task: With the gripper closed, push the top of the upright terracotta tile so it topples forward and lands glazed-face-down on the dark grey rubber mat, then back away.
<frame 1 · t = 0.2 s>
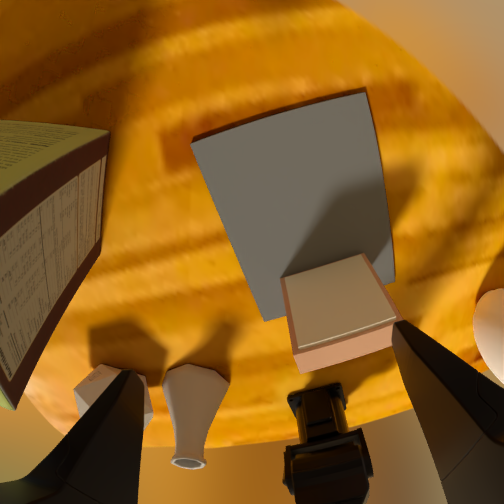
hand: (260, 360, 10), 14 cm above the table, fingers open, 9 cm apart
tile: (324, 275, 25), resting on mat
mat: (310, 219, 23), on the table
flask: (195, 381, 33), on the table
pale grey faceted chunk: (122, 376, 32), on the table
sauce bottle: (483, 298, 29), on the table
protein box: (27, 182, 20), on the table
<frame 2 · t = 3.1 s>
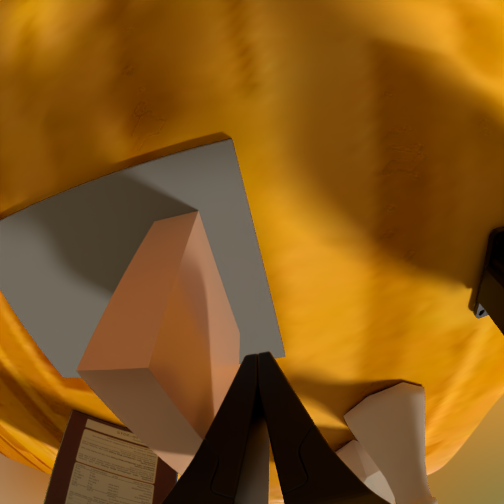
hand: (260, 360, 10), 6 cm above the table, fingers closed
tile: (200, 283, 15), resting on mat, touching gripper
mat: (113, 295, 15), on the table
flask: (384, 405, 22), on the table
pale grey faceted chunk: (348, 449, 26), on the table
protein box: (123, 452, 27), on the table
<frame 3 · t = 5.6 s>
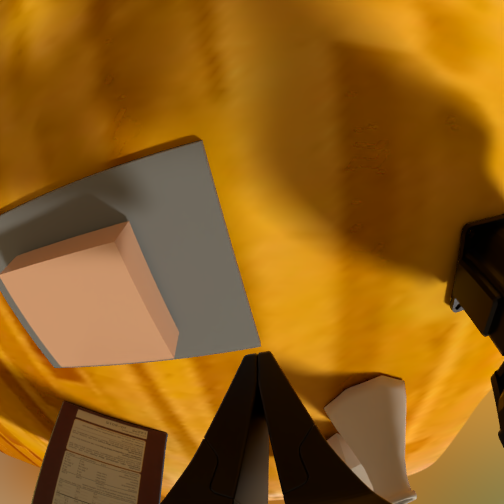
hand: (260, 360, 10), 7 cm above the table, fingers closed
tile: (151, 294, 15), point 2 cm above the table, tilted 90°, touching mat
mat: (98, 287, 16), on the table
flask: (365, 398, 23), on the table
pale grey faceted chunk: (333, 443, 27), on the table
protein box: (114, 444, 27), on the table
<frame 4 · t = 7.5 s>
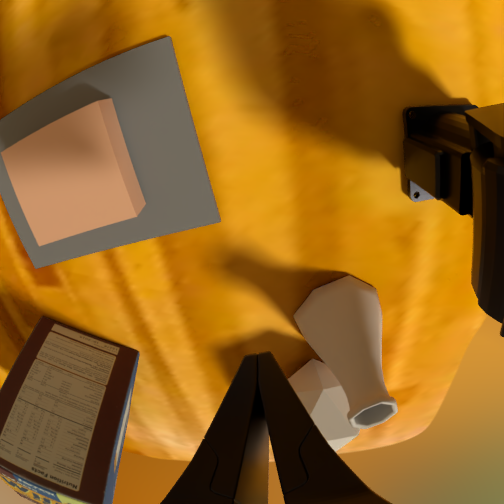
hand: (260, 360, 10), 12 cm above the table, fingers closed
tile: (122, 155, 16), point 2 cm above the table, tilted 90°, touching mat
mat: (82, 167, 18), on the table
flask: (338, 310, 25), on the table
pale grey faceted chunk: (311, 376, 29), on the table
protein box: (89, 376, 29), on the table
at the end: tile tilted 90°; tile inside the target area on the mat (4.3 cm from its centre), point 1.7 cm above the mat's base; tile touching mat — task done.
